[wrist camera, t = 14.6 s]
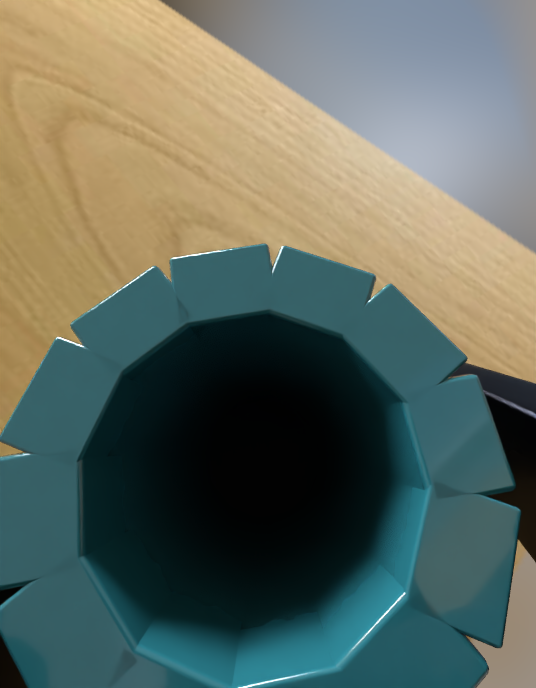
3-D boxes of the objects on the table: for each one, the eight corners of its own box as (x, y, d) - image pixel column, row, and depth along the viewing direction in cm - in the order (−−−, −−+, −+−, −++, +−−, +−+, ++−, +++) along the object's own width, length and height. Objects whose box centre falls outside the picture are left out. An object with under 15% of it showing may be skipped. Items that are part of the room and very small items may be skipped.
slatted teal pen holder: (317, 579, 13) (460, 964, 3) (151, 510, 14) (-132, 662, 4) (366, 405, 15) (550, 327, 5) (218, 352, 15) (134, 195, 6)
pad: (408, 527, 14) (414, 530, 13) (193, 618, 13) (189, 626, 12) (321, 327, 16) (323, 323, 16) (135, 393, 15) (130, 391, 15)
